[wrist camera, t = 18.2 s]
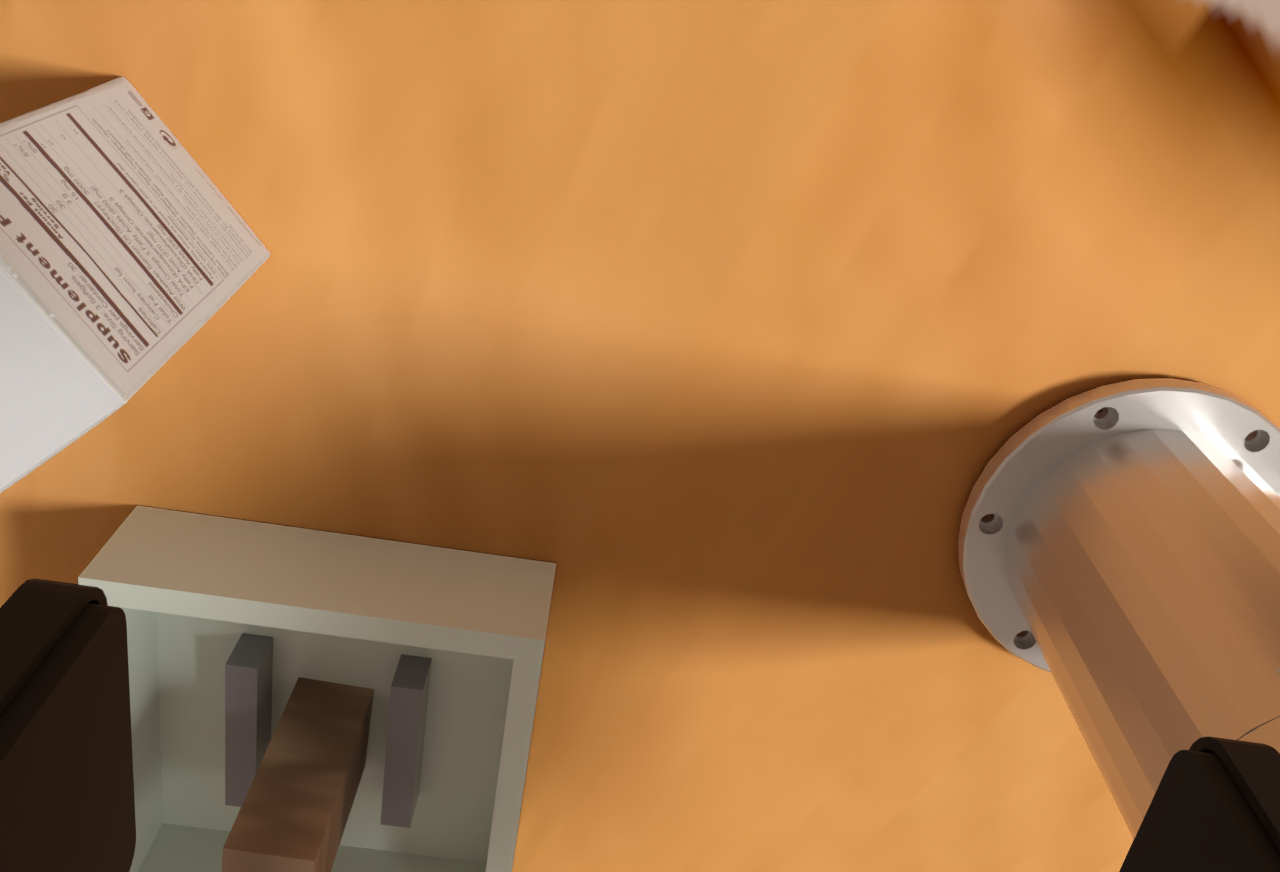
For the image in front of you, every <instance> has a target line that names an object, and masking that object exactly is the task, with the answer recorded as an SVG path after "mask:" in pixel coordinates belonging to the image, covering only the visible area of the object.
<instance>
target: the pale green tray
mask: <svg viewBox="0 0 1280 872" xmlns="http://www.w3.org/2000/svg"><path fill="white" fill-rule="evenodd" d="M555 570H556V563H550V562H543V561H536V560H528V559H521V558H514V557H507V556H500V555H492V554H485V553H478V552H471V551H464V550H456V549H449V548H442V547H435V546H427V545H420V544H413V543H406V542H399V541H391V540H384V539H377V538H370V537H362V536H355V535H348V534H341V533H334V532H326V531H319V530H312V529H305V528H297V527H290V526H283V525H276V524H269V523H261V522H254V521H247V520H240V519H232V518H225V517H218V516H211V515H204V514H196V513H189V512H182V511H175V510H167V509H160V508H153V507H146V506H139V505H137V506H136V507H135V508H134V510H133V511H132V512H131V513H130V514H129V516H128V517H127V518H126V519H125V521H124V522H123V523H122V524H121V525H120V527H119V528H118V529H117V530H116V532H115V533H114V534H113V535H112V536H111V538H110V539H109V540H108V541H107V543H106V544H105V545H104V546H103V547H102V549H101V550H100V551H99V552H98V554H97V555H96V556H95V557H94V558H93V560H92V561H91V562H90V563H89V565H88V566H87V567H86V568H85V569H84V571H83V572H82V573H81V574H80V576H79V577H78V585H85V586H93V587H98V588H100V589H102V590H103V591H104V594H105V596H106V598H107V604H108V606H113V607H119V608H121V609H123V611H124V613H125V616H126V623H127V644H128V666H129V689H130V711H131V733H132V755H133V777H134V799H135V821H136V846H135V853H134V857H133V861H132V865H131V868H130V871H129V872H222V856H223V847H224V844H225V842H226V840H227V838H228V835H229V833H230V831H231V829H232V826H233V824H234V822H235V820H236V817H237V815H238V813H239V811H240V808H241V806H242V804H243V802H244V799H245V797H246V795H247V793H248V790H249V788H250V786H251V784H252V781H253V779H254V777H255V774H256V772H257V770H258V768H259V765H260V763H261V761H262V759H263V756H264V754H265V752H266V750H267V747H268V745H269V743H270V741H271V738H272V736H273V734H274V732H275V729H276V727H277V725H278V723H279V720H280V718H281V716H282V714H283V711H284V709H285V707H286V705H287V702H288V700H289V698H290V696H291V693H292V691H293V689H294V687H295V684H296V682H297V680H298V678H299V677H301V678H307V679H314V680H320V681H326V682H332V683H339V684H345V685H351V686H357V687H364V688H370V689H374V694H373V703H372V712H371V720H370V729H369V738H368V746H367V755H366V764H365V768H364V771H363V774H362V777H361V780H360V783H359V786H358V789H357V793H356V796H355V799H354V802H353V805H352V808H351V811H350V814H349V817H348V820H347V823H346V826H345V829H344V833H343V836H342V839H341V842H340V845H339V848H338V851H337V854H336V857H335V860H334V863H333V866H332V869H331V872H512V866H513V859H514V852H515V845H516V838H517V831H518V824H519V818H520V811H521V804H522V797H523V790H524V783H525V776H526V770H527V763H528V756H529V749H530V742H531V735H532V728H533V722H534V715H535V708H536V701H537V694H538V687H539V680H540V674H541V667H542V660H543V653H544V646H545V639H546V632H547V625H548V618H549V611H550V604H551V597H552V591H553V584H554V577H555Z"/></svg>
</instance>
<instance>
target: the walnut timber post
mask: <svg viewBox="0 0 1280 872" xmlns="http://www.w3.org/2000/svg"><path fill="white" fill-rule="evenodd" d="M373 694H374V689H370V688H364V687H357V686H351V685H345V684H339V683H332V682H326V681H320V680H314V679H307V678H301V677H299V678H298V680H297V682H296V684H295V687H294V689H293V691H292V693H291V696H290V698H289V700H288V702H287V705H286V707H285V709H284V711H283V714H282V716H281V718H280V720H279V723H278V725H277V727H276V729H275V732H274V734H273V736H272V738H271V741H270V743H269V745H268V747H267V750H266V752H265V754H264V756H263V759H262V761H261V763H260V765H259V768H258V770H257V772H256V774H255V777H254V779H253V781H252V784H251V786H250V788H249V790H248V793H247V795H246V797H245V799H244V802H243V804H242V806H241V808H240V811H239V813H238V815H237V817H236V820H235V822H234V824H233V826H232V829H231V831H230V833H229V835H228V838H227V840H226V842H225V844H224V847H223V856H222V872H331V869H332V866H333V863H334V860H335V857H336V854H337V851H338V848H339V845H340V842H341V839H342V836H343V833H344V829H345V826H346V823H347V820H348V817H349V814H350V811H351V808H352V805H353V802H354V799H355V796H356V793H357V789H358V786H359V783H360V780H361V777H362V774H363V771H364V768H365V764H366V755H367V746H368V738H369V729H370V720H371V712H372V703H373Z"/></svg>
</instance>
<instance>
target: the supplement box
mask: <svg viewBox="0 0 1280 872" xmlns="http://www.w3.org/2000/svg"><path fill="white" fill-rule="evenodd" d="M269 257H270V252H269V251H268V250H267V249H266V247H265V246H264V245H263V244H262V242H261V241H260V240H259V239H258V237H257V236H256V235H255V233H254V232H253V231H252V230H251V228H250V227H249V226H248V225H247V223H246V222H245V221H244V220H243V219H242V217H241V216H240V215H239V214H238V213H237V212H236V210H235V209H234V208H233V207H232V205H231V204H230V203H229V201H228V200H227V199H226V198H225V197H224V196H223V194H222V193H221V192H220V191H219V190H218V188H217V187H216V186H215V185H214V184H213V183H212V181H211V180H210V178H209V177H208V176H207V175H206V174H205V172H204V171H203V170H202V169H201V168H200V166H199V165H198V164H197V163H196V162H195V160H194V159H193V158H192V157H191V155H190V154H189V153H188V152H187V151H186V150H185V148H184V147H183V146H182V145H181V143H180V142H179V141H178V140H177V138H176V137H175V136H174V135H173V134H172V132H171V131H170V130H169V129H168V128H167V126H166V125H165V124H164V123H163V122H162V120H161V119H160V118H159V117H158V115H157V114H156V113H155V112H154V111H153V110H152V109H151V107H150V106H149V105H148V104H147V103H146V101H145V100H144V99H143V98H142V96H141V95H140V94H139V93H138V92H137V90H136V89H135V88H134V87H133V86H132V85H131V83H130V82H129V81H128V80H127V79H126V78H124V77H118V78H116V79H113V80H110V81H108V82H105V83H103V84H100V85H98V86H95V87H93V88H91V89H88V90H86V91H83V92H81V93H78V94H76V95H73V96H70V97H68V98H65V99H62V100H60V101H57V102H54V103H52V104H49V105H46V106H44V107H41V108H38V109H36V110H33V111H30V112H28V113H25V114H22V115H20V116H17V117H14V118H12V119H9V120H6V121H4V122H1V123H0V493H1V492H3V491H4V490H6V489H7V488H9V487H10V486H12V485H13V484H15V483H16V482H17V481H19V480H20V479H22V478H23V477H25V476H26V475H28V474H29V473H30V472H32V471H33V470H35V469H36V468H37V467H39V466H40V465H42V464H43V463H45V462H46V461H47V460H49V459H50V458H52V457H53V456H54V455H56V454H57V453H59V452H60V451H62V450H63V449H64V448H66V447H67V446H69V445H70V444H71V443H73V442H74V441H76V440H77V439H78V438H80V437H81V436H83V435H84V434H85V433H87V432H88V431H90V430H91V429H92V428H94V427H95V426H97V425H98V424H99V423H101V422H102V421H103V420H105V419H106V418H107V417H109V416H110V415H111V414H113V413H114V412H115V411H116V410H118V409H119V408H120V407H122V406H123V405H124V404H125V403H127V402H128V400H129V399H130V398H131V397H132V396H133V395H134V394H135V393H136V392H137V391H138V390H139V389H140V388H141V387H142V386H143V385H144V384H145V383H146V382H147V381H148V380H149V379H150V378H151V377H152V376H153V375H154V374H155V373H156V372H157V371H158V370H159V369H160V368H161V367H162V366H163V365H164V364H165V363H166V362H167V361H168V360H169V359H170V358H171V357H172V356H173V355H174V354H175V353H176V352H177V351H178V350H179V349H180V348H181V347H182V346H183V345H184V344H185V343H186V342H187V341H188V340H189V339H190V338H191V337H192V336H193V335H194V334H195V333H196V332H197V331H198V330H199V329H200V328H201V327H202V326H203V325H204V324H205V323H206V322H207V321H208V320H209V319H210V318H211V317H212V316H213V315H214V314H215V313H216V312H217V311H218V310H219V309H220V308H221V307H222V306H223V305H224V304H225V303H226V302H227V301H228V300H229V298H230V297H231V296H232V295H233V294H234V293H235V292H236V291H237V290H238V289H239V288H240V287H241V286H242V285H243V284H244V283H245V282H246V281H247V280H248V279H249V278H250V277H251V276H252V274H253V273H254V272H255V271H256V270H257V269H258V268H259V267H260V266H261V265H262V264H263V263H264V262H265V261H266V260H267V259H268V258H269Z"/></svg>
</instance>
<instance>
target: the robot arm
mask: <svg viewBox="0 0 1280 872" xmlns="http://www.w3.org/2000/svg"><path fill="white" fill-rule="evenodd" d="M1102 408H1103V410H1102V411H1101V412H1099V413H1096V412H1097V411H1098V410H1100V409H1102ZM987 514H989V515H988V516H986V515H987ZM984 516H986V517H984ZM958 555H959V569H960V573H961V576H962V579H963V582H964V586H965V589H966V592H967V595H968V597H969V599H970V601H971V603H972V605H973V607H974V609H975V611H976V614H977V616H978V618H979V619H980V621H981V622H982V623H983V624H984V626H985V627H986V628H987V630H988V631H989V632H990V634H991V635H992V636H993V637H994V639H995V640H997V641H998V642H999V643H1000V644H1001V645H1002V646H1003V647H1005V648H1006V649H1007V650H1008V651H1009V652H1010V653H1012V654H1013V655H1015V656H1017V657H1018V658H1020V659H1022V660H1024V661H1026V662H1028V663H1030V664H1032V665H1033V666H1035V667H1037V668H1039V669H1042V670H1045V671H1049V672H1052V674H1053V676H1054V678H1055V680H1056V682H1057V684H1058V687H1059V689H1060V691H1061V693H1062V695H1063V697H1064V699H1065V701H1066V703H1067V705H1068V707H1069V709H1070V711H1071V713H1072V715H1073V717H1074V719H1075V721H1076V723H1077V725H1078V727H1079V729H1080V731H1081V733H1082V735H1083V737H1084V739H1085V741H1086V743H1087V745H1088V747H1089V749H1090V751H1091V753H1092V755H1093V757H1094V759H1095V761H1096V763H1097V765H1098V767H1099V769H1100V771H1101V773H1102V776H1103V778H1104V780H1105V782H1106V784H1107V786H1108V788H1109V790H1110V792H1111V794H1112V796H1113V798H1114V800H1115V802H1116V804H1117V806H1118V808H1119V810H1120V812H1121V814H1122V816H1123V818H1124V820H1125V822H1126V824H1127V826H1128V828H1129V830H1130V832H1131V834H1132V836H1133V838H1134V841H1133V843H1132V845H1131V847H1130V850H1129V852H1128V854H1127V856H1126V858H1125V860H1124V863H1123V865H1122V867H1121V869H1120V871H1119V872H1280V429H1279V428H1278V427H1277V426H1276V425H1275V424H1273V423H1272V422H1271V421H1270V420H1269V419H1268V418H1267V417H1266V416H1264V415H1263V414H1262V413H1261V412H1260V411H1259V410H1258V409H1256V408H1255V407H1253V406H1251V405H1250V404H1248V403H1247V402H1245V401H1243V400H1242V399H1240V398H1239V397H1237V396H1235V395H1234V394H1232V393H1229V392H1226V391H1224V390H1221V389H1218V388H1215V387H1212V386H1210V385H1207V384H1204V383H1199V382H1193V381H1186V380H1179V379H1173V378H1156V379H1134V380H1129V381H1124V382H1119V383H1114V384H1108V385H1103V386H1100V387H1097V388H1094V389H1092V390H1089V391H1086V392H1084V393H1081V394H1078V395H1076V396H1073V397H1070V398H1068V399H1066V400H1064V401H1062V402H1061V403H1059V404H1057V405H1055V406H1053V407H1052V408H1050V409H1048V410H1046V411H1045V412H1043V413H1041V414H1039V415H1038V416H1036V417H1035V418H1034V419H1032V420H1031V421H1030V422H1029V423H1027V424H1026V425H1025V426H1024V427H1022V428H1021V429H1020V430H1019V431H1017V432H1016V433H1015V434H1014V435H1012V436H1011V437H1010V438H1009V439H1008V440H1007V442H1006V443H1005V444H1004V445H1003V446H1002V447H1001V448H1000V449H999V451H998V452H997V453H996V454H995V455H994V456H993V457H992V458H991V459H990V461H989V462H988V463H987V465H986V467H985V468H984V470H983V472H982V473H981V475H980V476H979V478H978V480H977V481H976V483H975V485H974V486H973V488H972V490H971V493H970V496H969V498H968V501H967V504H966V506H965V509H964V512H963V514H962V518H961V525H960V531H959V538H958ZM135 846H136V821H135V799H134V777H133V755H132V733H131V711H130V689H129V666H128V644H127V623H126V616H125V613H124V611H123V609H121V608H119V607H113V606H108V604H107V598H106V596H105V594H104V591H103V590H102V589H100V588H98V587H93V586H85V585H78V584H71V583H63V582H56V581H48V580H41V579H31V580H27V581H26V582H25V583H23V584H22V585H21V586H20V587H19V588H18V589H17V590H16V591H15V592H14V593H13V594H12V596H11V597H10V598H9V599H8V600H7V601H6V602H5V603H4V605H3V606H2V607H1V608H0V872H129V871H130V868H131V865H132V861H133V857H134V853H135Z"/></svg>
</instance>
